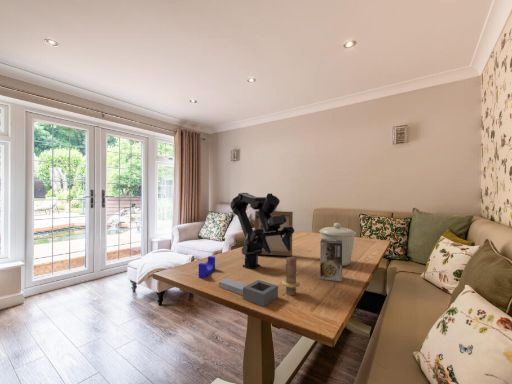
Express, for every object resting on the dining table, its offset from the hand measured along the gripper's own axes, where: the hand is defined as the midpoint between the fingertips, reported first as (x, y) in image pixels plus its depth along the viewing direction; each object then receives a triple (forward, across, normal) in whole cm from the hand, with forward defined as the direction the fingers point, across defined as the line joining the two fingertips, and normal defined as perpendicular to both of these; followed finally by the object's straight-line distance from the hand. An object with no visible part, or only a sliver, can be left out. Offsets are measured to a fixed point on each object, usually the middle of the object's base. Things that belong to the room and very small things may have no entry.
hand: (280, 251), depth 95 cm
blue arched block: (-9, -23, +28) cm, 37 cm away
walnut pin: (+15, 0, +4) cm, 15 cm away
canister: (+1, +42, +18) cm, 46 cm away
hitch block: (+10, -15, +10) cm, 20 cm away
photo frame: (-20, +22, +39) cm, 49 cm away
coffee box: (+11, +25, +8) cm, 28 cm away
